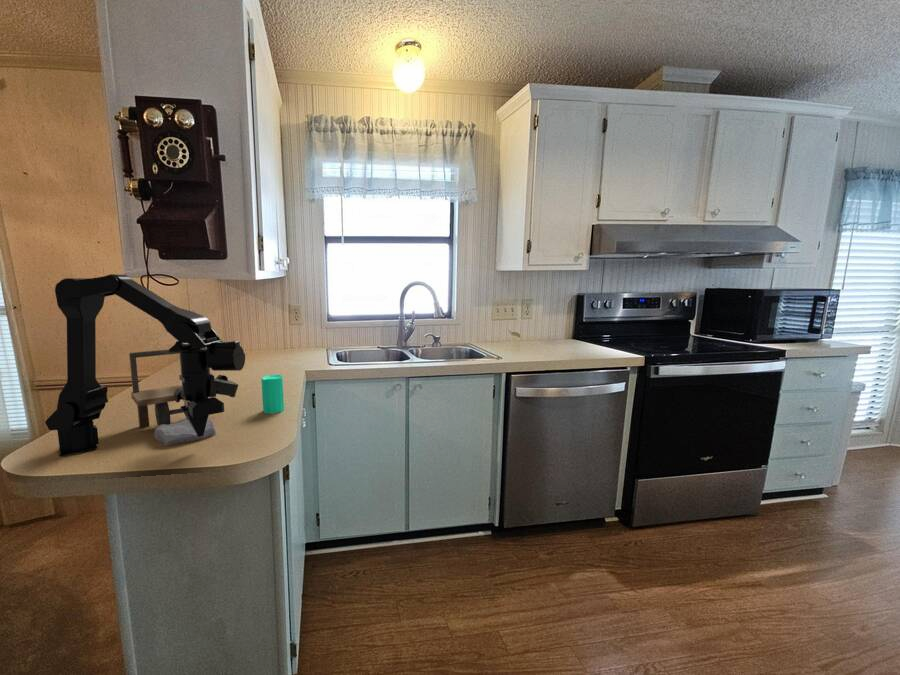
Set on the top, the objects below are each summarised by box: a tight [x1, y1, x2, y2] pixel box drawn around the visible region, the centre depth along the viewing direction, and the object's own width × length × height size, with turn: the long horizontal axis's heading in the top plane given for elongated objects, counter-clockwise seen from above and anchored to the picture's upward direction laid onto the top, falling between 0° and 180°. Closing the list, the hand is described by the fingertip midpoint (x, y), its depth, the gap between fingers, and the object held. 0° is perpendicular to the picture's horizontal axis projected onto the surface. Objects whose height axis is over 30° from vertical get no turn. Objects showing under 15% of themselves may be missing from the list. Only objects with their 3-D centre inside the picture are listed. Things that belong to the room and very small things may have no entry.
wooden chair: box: [128, 348, 184, 429], centre depth 116 cm, size 18×11×20 cm, turn 133°
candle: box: [261, 374, 285, 414], centre depth 129 cm, size 6×6×12 cm
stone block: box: [153, 417, 216, 446], centre depth 108 cm, size 12×5×10 cm
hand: (200, 435), depth 100 cm, fingers closed
